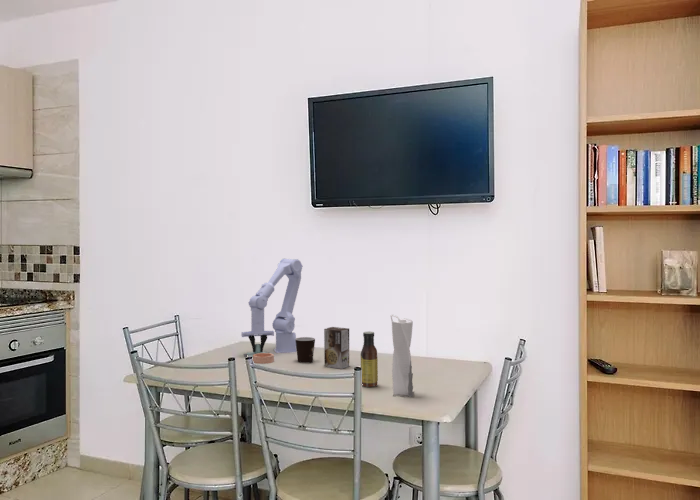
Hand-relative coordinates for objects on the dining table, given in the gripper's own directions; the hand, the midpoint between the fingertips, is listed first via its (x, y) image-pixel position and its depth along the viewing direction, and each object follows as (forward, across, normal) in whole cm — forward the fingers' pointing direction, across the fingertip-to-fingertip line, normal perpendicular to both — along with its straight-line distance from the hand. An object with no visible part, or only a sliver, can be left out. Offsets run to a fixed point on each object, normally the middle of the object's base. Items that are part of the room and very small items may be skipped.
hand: (257, 351), depth 266 cm
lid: (+2, 0, 0) cm, 2 cm away
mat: (+2, 0, 0) cm, 2 cm away
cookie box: (+2, -29, +29) cm, 41 cm away
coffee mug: (+2, -20, +16) cm, 25 cm away
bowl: (+2, -1, +12) cm, 12 cm away
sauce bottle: (+2, -32, +62) cm, 70 cm away
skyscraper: (+2, -40, +75) cm, 85 cm away
